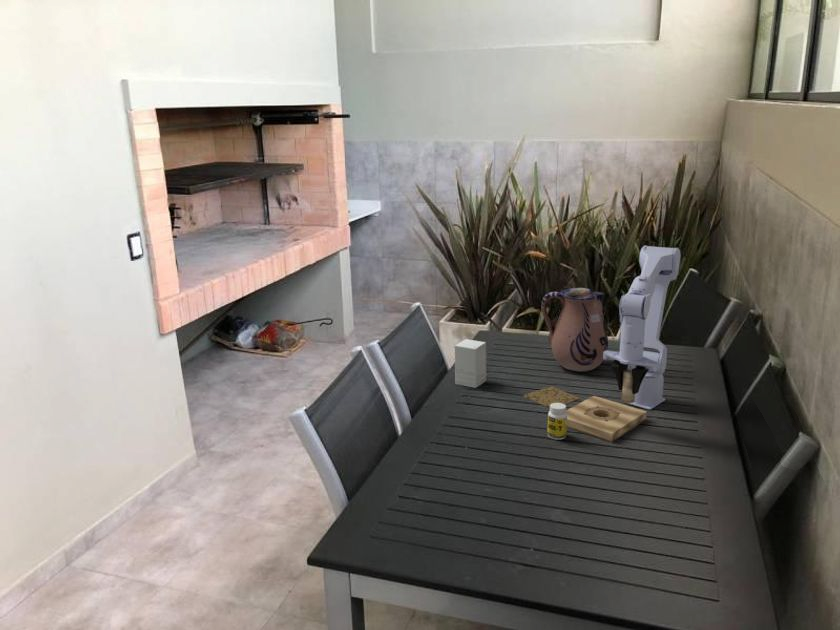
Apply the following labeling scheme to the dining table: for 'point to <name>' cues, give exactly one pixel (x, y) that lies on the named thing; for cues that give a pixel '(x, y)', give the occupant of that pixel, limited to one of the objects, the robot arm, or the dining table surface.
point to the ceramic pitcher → (578, 329)
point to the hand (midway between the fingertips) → (628, 390)
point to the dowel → (627, 387)
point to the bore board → (604, 418)
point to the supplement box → (470, 363)
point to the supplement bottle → (557, 421)
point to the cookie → (551, 396)
